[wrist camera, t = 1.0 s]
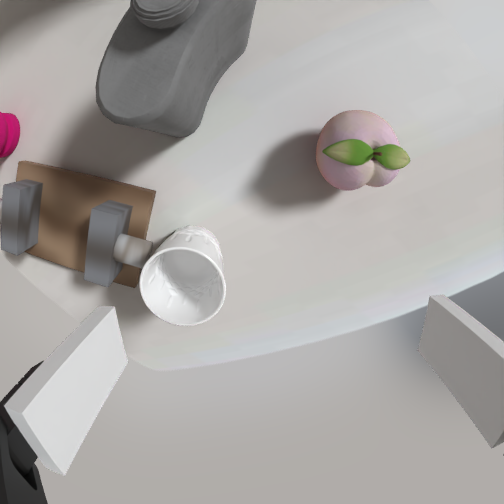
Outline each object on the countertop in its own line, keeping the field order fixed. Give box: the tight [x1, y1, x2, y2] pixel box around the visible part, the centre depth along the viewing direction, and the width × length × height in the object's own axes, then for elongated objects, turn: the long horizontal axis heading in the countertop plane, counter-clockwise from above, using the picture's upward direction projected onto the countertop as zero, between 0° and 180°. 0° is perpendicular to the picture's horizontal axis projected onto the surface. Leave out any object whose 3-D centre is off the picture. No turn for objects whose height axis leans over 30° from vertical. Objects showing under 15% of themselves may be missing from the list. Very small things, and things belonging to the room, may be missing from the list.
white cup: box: [139, 225, 226, 326], centre depth 31 cm, size 8×8×10 cm
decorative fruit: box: [316, 110, 410, 190], centre depth 28 cm, size 9×8×10 cm
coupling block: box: [0, 161, 156, 288], centre depth 30 cm, size 12×23×6 cm, turn 73°
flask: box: [96, 0, 256, 137], centre depth 19 cm, size 15×6×20 cm, turn 151°
